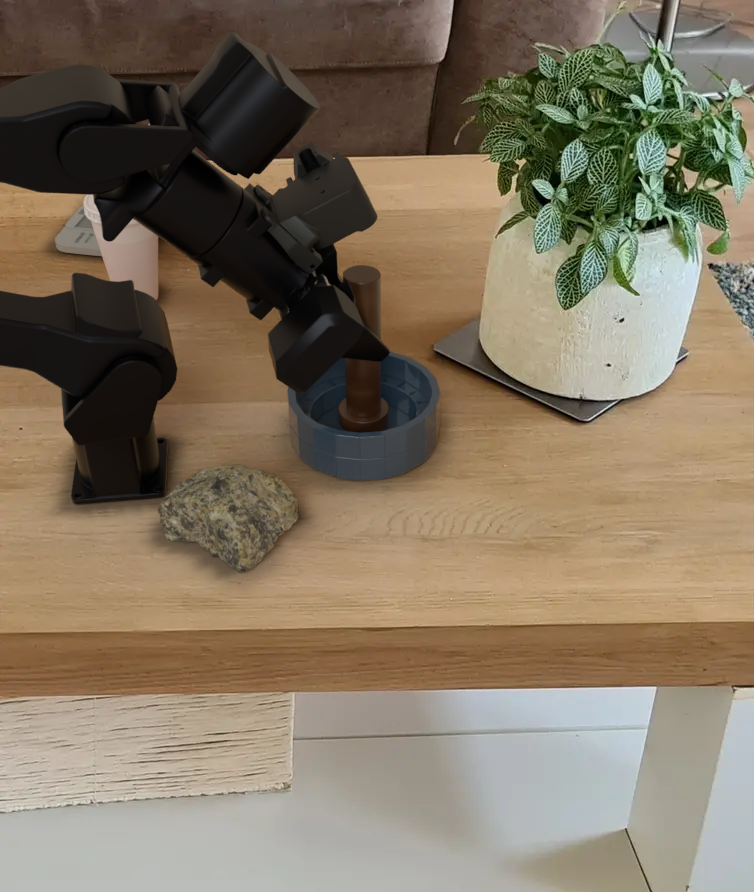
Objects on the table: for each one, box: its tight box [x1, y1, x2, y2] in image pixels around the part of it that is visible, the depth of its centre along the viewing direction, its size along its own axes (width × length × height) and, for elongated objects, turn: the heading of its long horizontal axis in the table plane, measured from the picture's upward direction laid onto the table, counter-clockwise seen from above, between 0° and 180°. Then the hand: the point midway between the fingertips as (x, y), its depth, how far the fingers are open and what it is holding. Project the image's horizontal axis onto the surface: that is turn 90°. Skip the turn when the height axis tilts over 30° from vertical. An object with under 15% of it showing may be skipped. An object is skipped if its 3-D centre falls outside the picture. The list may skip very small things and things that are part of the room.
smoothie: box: [82, 194, 159, 301], centre depth 100 cm, size 6×6×14 cm
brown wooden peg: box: [338, 264, 389, 433], centre depth 84 cm, size 4×4×13 cm
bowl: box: [286, 350, 441, 482], centre depth 88 cm, size 11×11×4 cm
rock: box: [157, 463, 299, 574], centre depth 79 cm, size 7×8×4 cm
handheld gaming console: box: [54, 122, 160, 257], centre depth 112 cm, size 13×9×10 cm
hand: (381, 345), depth 84 cm, fingers closed on brown wooden peg, 2 cm apart
